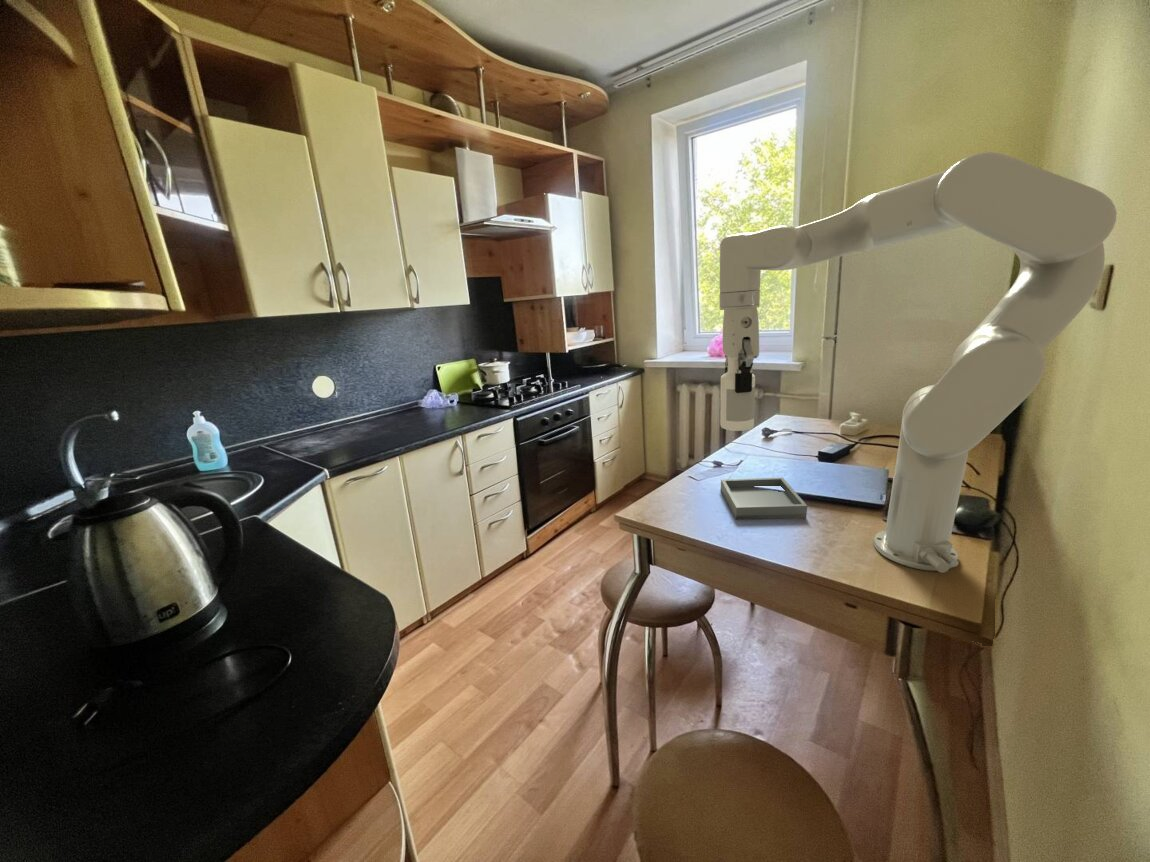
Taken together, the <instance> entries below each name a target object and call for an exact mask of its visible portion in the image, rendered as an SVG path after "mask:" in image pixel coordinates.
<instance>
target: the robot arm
mask: <svg viewBox="0 0 1150 862" xmlns="http://www.w3.org/2000/svg"><path fill="white" fill-rule="evenodd" d="M1116 221H1117V208H1116V206H1115V204H1114V202H1113V200H1112V199H1111V198H1110V197H1109V196H1108V195H1107V194H1105V193H1104V192H1101V191H1100V190H1099V189H1097V188H1094V187H1092V186H1089V185H1086V184H1083V183H1081V182H1078V181H1075V180H1074V179H1071V178H1067V177H1065V176H1062V175H1060V174H1057V173H1054V172H1051V171H1048V170H1046V169H1043V168H1042V167H1041V168H1040V167H1038V166H1035V165H1033V164H1031V163H1028V162H1025V161H1023V160H1021V159H1018V158H1015V157H1013V156H1010V155H1007V154H1004V153H1000V152H994V151H993V152H992V151H987V152H979V153H975V154H972V155H969V156H967V157H964V158H963V159H961V160H959V161H957V162H956V163H955V164H953V165H952V166H951V167H950V168H949V169H947V170H944V171H940V172H938V173H934V174H931V175H929V176H926V177H923V178H920V179H917V180H913V181H910V182H908V183H904V184H901V185H897V186H895V187H891V188H888V189H885V190H882V191H878V192H875V193H872V194H870V195H867V196H866V197H864V198H863V199H860V200H859V201H858V202H856V203H855V204H853V205H852V206H850V207H848V208H847V209H845V210H843V211H841V212H839V213H836V214H834V215H831V216H828V217H825V218H823V219H820V220H816V221H813V222H809V223H807V224H803V225H800V226H797V227H796V226H795V227H794V226H789V225H776V226H773V227H769V228H767V229H766V228H765V229H762V230H760V231H755V232H743V233H736V234H730V235H726V236H724V237H723V238H722V240H720V244H719V310H720V311H723V318H722V319H723V320H722V352H723V354H724V355H725V361H724V366H725V367H724V374H725V373H726V372H728V356H729V357H731V358H732V359H734V360H736V368H737V373H735V392H736V393H746V392H751V391H752V374H753V371H754V368H753V366H754V360H755V359H758V357H759V356H760V323H759V312H758V308H760V300H761V299H760V298H761V297H760V296H761V271H789V270H794V269H799V268H802V267H806V266H809V265H813V264H817V263H822V262H824V261H828V260H833V259H836V258H840V257H843V256H849V255H853V254H857V253H866V252H869V251H873V250H877V249H880V248H881V249H882V248H885V247H888V246H891V245H896V244H900V243H902V242H907V241H910V240H914V239H918V238H922V237H923V238H924V237H926V236H931V235H934V234H938V233H942V232H947V231H950V230H955V229H958V228H961V227H966V228H968V229H970V230H972V231H974V232H976V233H979V234H980V235H983V236H985V237H987V238H989V239H991V240H993V241H996V242H997V243H1001V244H1002V245H1005V246H1008V247H1010V248H1011V249H1012V251H1013V252H1014V254H1015V255H1016V256H1017V258H1018V259H1019V263H1020V266H1019V267H1020V268H1019V272H1018V275H1017V277H1016V279H1015V281H1014V282H1013V284H1012V286H1011V287H1010V288H1009V290H1007V292H1006V293H1004V295H1003V296H1002V298H1000V300H999V301H998V303H997V305H996V306H995V307H994V308H992V310H991V311H990V312H989V313H988V315H986V316H985V318H984V319H983V320H982V321H981V322H980V323H979V324H978V326H976V328H975V329H974V330H973V331H972V332H971V333H970V334H969V336H967V337H966V338H965V339H964V340H963V341H962V342H961V343H960V344H959V345H958V346H957V347H956V349H955V351H954V352H953V354H952V358H951V361H952V362H951V366H950V367H949V368H948V369H947V371H946V372H945V373H944V374H943V375H942V377H941V378H940V379H939V380H938V381H937V382H936V383H935V384H932V385H927V386H925V387H922V388H920V389H918V390H917V391H915V392H914V393H912V394H911V395H910V396H909V398H908V400H907V401H906V403H905V405H904V407H903V411H902V415H901V416H902V418H901V426H900V432H899V433H900V435H899V441H898V448H897V454H896V455H897V456H896V462H895V467H894V472H893V473H894V474H893V478H892V485H891V491H890V498H889V506H888V511H887V518H886V525H885V530H881V531H879V532H877V533H876V534H875V535H874V538H873V546H874V547H875V549H876V550H877V551H878V552H879V553H880V554H881V555H882V556H884V557H885V558H887V559H889V560H891V561H893V562H895V563H897V564H900V565H902V566H906V567H909V568H913V569H918V570H921V571H922V570H923V571H935V572H939V573H941V574H942V573H943V574H944V573H947V572H948V571H949V570H950V569H952V568H955V567H957V566H958V565H959V563H960V562H959V561H958V559H959V555H958V552H957V551H956V549H954V548H953V543H951V542H950V541H951V538H952V532H953V527H954V522H955V519H956V514H957V509H958V503H959V499H960V494H961V489H962V484H963V480H964V475H965V473H966V467H967V461H968V455H969V451H970V450H972V449H973V448H974V447H976V446H978V444H979V443H980V442H982V441H983V440H984V439H986V437H987V436H988V435H990V434H991V432H992V431H993V430H995V428H997V427H998V425H1000V424H1001V423H1002V422H1004V420H1005V419H1006V418H1007V417H1008V416H1009V415H1010V414H1012V413H1013V411H1014V410H1016V409H1017V408H1018V407H1019V406H1020V405H1021V404H1022V403H1023V402H1024V401H1025V400H1026V399H1027V398H1028V397H1029V396H1030V395H1031V394H1032V393H1033V391H1035V389H1036V388H1037V386H1038V385H1039V383H1040V382H1041V380H1042V378H1043V376H1044V373H1045V371H1046V358H1045V356H1044V355H1045V354H1044V351H1045V350H1046V349H1047V348H1048V347H1049V346H1050V345H1051V344H1052V343H1053V342H1054V340H1056V339H1057V337H1059V335H1060V334H1061V333H1062V332H1063V331H1064V330H1065V329H1066V328H1067V327H1068V326H1069V324H1070V323H1071V322H1072V321H1073V320H1074V319H1075V318H1076V317H1077V316H1078V314H1080V312H1081V311H1082V310H1083V309H1084V308H1085V306H1086V305H1087V304H1088V303H1089V301H1090V300H1091V299H1092V298H1093V296H1094V294H1095V292H1096V291H1097V288H1098V287H1099V284H1100V282H1101V280H1102V277H1103V273H1104V268H1105V267H1104V266H1105V259H1106V258H1105V256H1106V255H1105V245H1104V241H1105V240H1107V238H1108V237H1110V234H1111V233H1112V231H1113V229H1114V228H1115V224H1116ZM743 355H745V357H739V356H743ZM740 362H742V365H741V364H740Z"/></svg>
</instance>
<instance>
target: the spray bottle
mask: <svg viewBox="0 0 1150 862" xmlns="http://www.w3.org/2000/svg"><path fill="white" fill-rule="evenodd" d="M739 357H745V355H743V356H739ZM740 364H741V365H742V362H740ZM735 373H737V368H736V360H734V359H732V358H731V357H729V356H728V372H726V373H725V372H724V374H722V375H721V376H720V396H719V397H720V399H719V400H720V401H719V402H720V403H719V404H720V409H719V411H720V424H719V425H720V427H721V429H724V430H727V431H731V432H732V431H734V432H742V431H747V430H751V429H753V427H754V425H755V398H756V396H755V395H756V394H755V393H756V375H755V374H754V373H752V391H751V392H746V393H736V392H735Z"/></svg>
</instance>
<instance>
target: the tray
mask: <svg viewBox="0 0 1150 862" xmlns="http://www.w3.org/2000/svg"><path fill="white" fill-rule="evenodd" d="M754 486H781V487H782V488H783V489H784V490H785V492H778V491H773V490H767V489H759V488H755V487H754ZM720 492H721V495H723V497H724V500H725V501H726V503H727V505H728V507H729V509H730V511H731V513H732V515H733V517H734V519H735V520H739V521H740V520H744V521H745V520H777V519H778V520H782V519H783V520H784V519H786V520H787V519H788V520H789V519H807V516H808V515H807V514H808V505H807V503H806V502H805V501H804V500H803V499H802V498H801V497H800V496H799V494H798V493H797V492H796V491H795V490H794V489H793V488H792V486H790V484H789V483H788V482H787V481H786V480H785V478H784V477H767V478H765V477H764V478H763V477H762V478H736V479H735V478H732V479H720Z"/></svg>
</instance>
